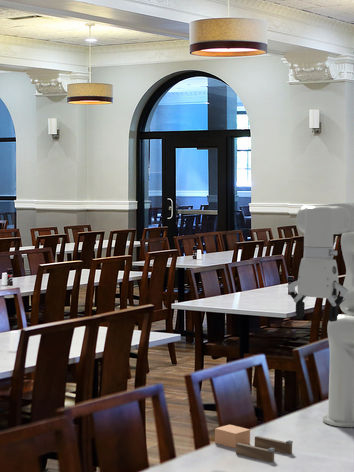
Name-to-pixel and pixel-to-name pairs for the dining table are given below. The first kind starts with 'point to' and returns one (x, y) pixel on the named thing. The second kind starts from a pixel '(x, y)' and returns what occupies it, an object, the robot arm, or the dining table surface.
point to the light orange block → (232, 435)
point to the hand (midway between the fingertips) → (316, 319)
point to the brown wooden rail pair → (264, 448)
